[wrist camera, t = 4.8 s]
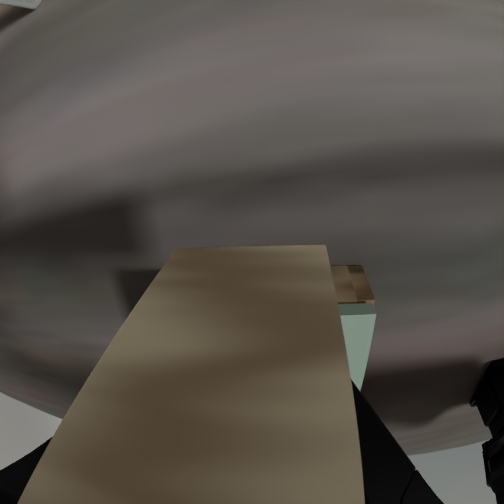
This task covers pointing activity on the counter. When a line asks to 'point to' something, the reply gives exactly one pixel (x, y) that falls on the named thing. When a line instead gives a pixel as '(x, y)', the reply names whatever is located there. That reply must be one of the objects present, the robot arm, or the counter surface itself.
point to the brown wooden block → (216, 391)
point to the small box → (22, 3)
